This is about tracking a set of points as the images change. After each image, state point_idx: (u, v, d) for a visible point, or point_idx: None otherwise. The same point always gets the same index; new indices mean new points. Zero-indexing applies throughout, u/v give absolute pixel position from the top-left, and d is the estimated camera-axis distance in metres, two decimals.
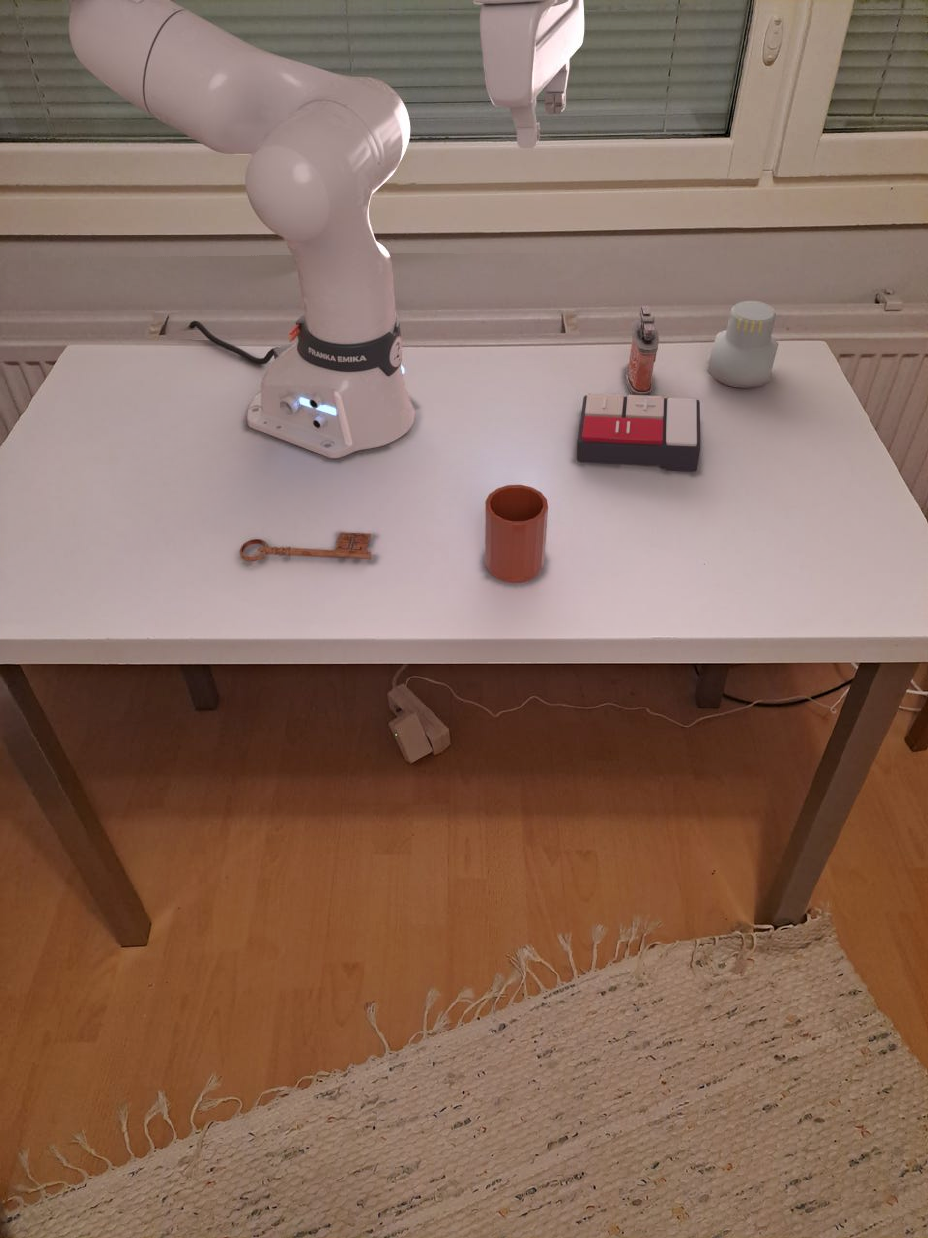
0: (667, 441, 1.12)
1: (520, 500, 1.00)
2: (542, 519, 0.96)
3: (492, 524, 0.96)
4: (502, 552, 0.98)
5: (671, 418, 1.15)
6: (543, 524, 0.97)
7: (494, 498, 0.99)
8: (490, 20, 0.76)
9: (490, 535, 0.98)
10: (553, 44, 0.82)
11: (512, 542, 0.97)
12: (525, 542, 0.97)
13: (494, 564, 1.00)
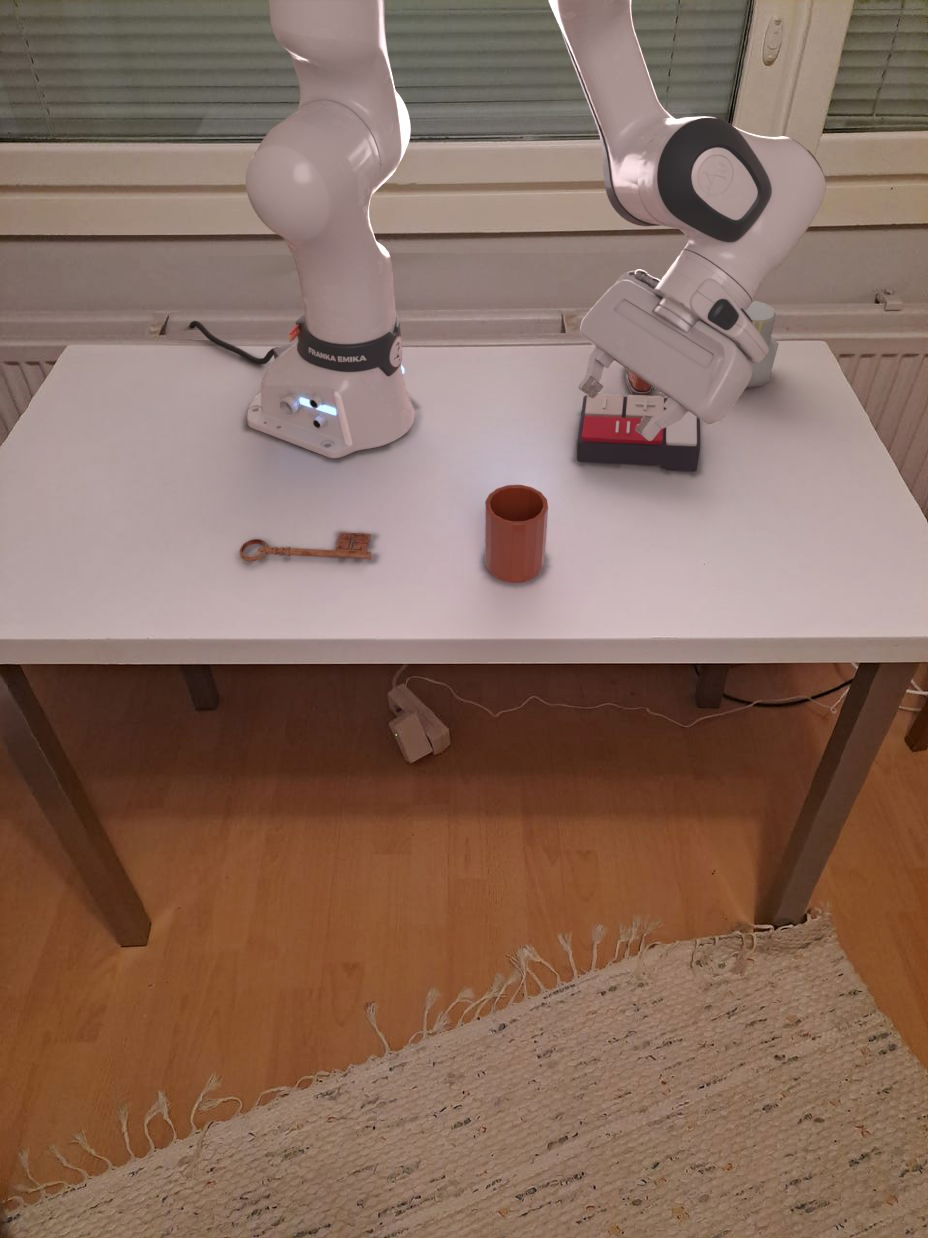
0: (667, 441, 1.12)
1: (520, 500, 1.00)
2: (542, 519, 0.96)
3: (492, 524, 0.96)
4: (502, 552, 0.98)
5: None
6: (543, 524, 0.97)
7: (494, 498, 0.99)
8: (739, 358, 0.87)
9: (490, 535, 0.98)
10: None
11: (512, 542, 0.97)
12: (525, 542, 0.97)
13: (494, 564, 1.00)
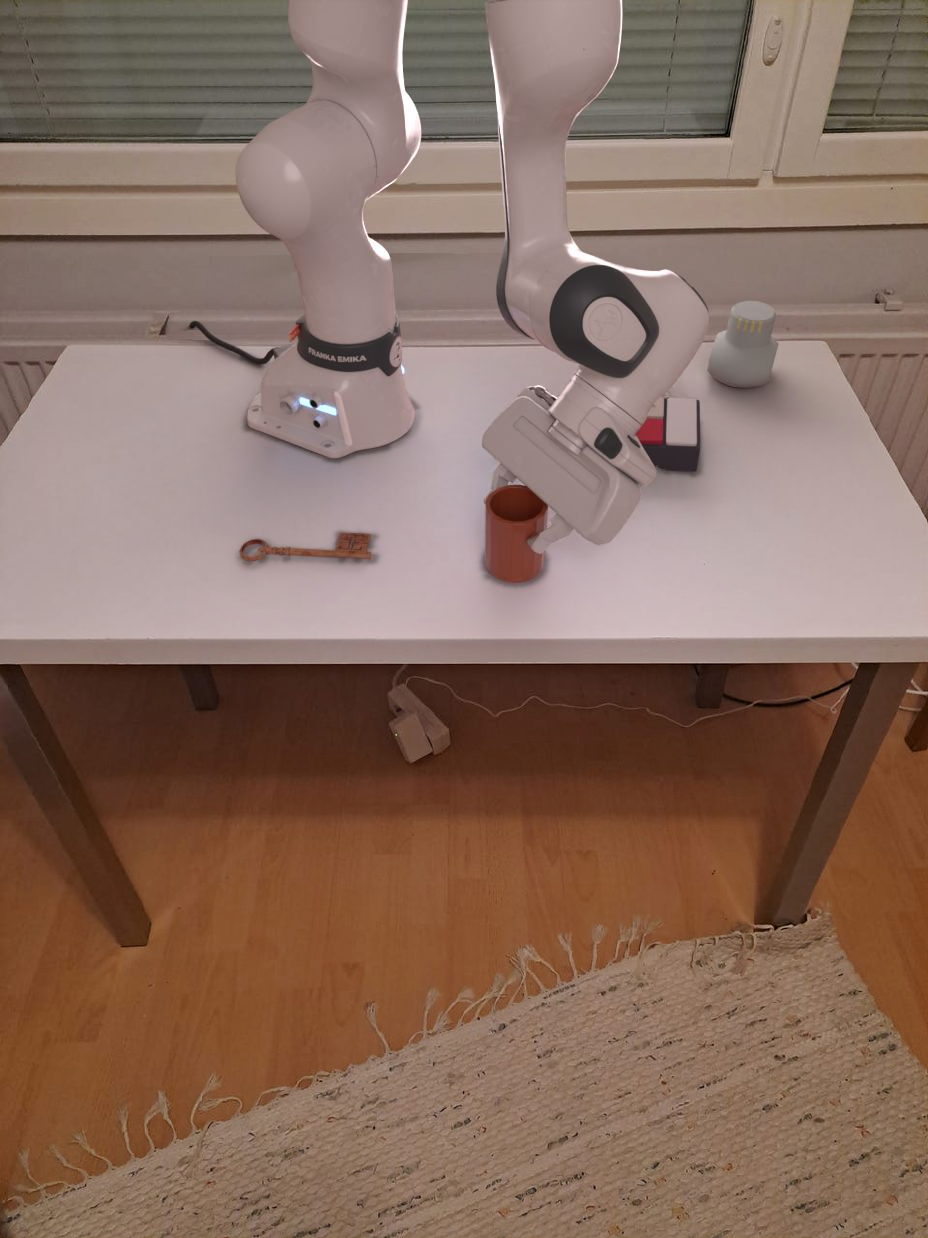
0: (667, 441, 1.12)
1: (520, 500, 1.00)
2: (542, 519, 0.96)
3: (492, 524, 0.96)
4: (502, 552, 0.98)
5: (671, 418, 1.15)
6: (543, 524, 0.97)
7: (494, 498, 0.99)
8: (624, 485, 0.90)
9: (490, 535, 0.98)
10: None
11: (512, 542, 0.97)
12: (525, 542, 0.97)
13: (494, 564, 1.00)
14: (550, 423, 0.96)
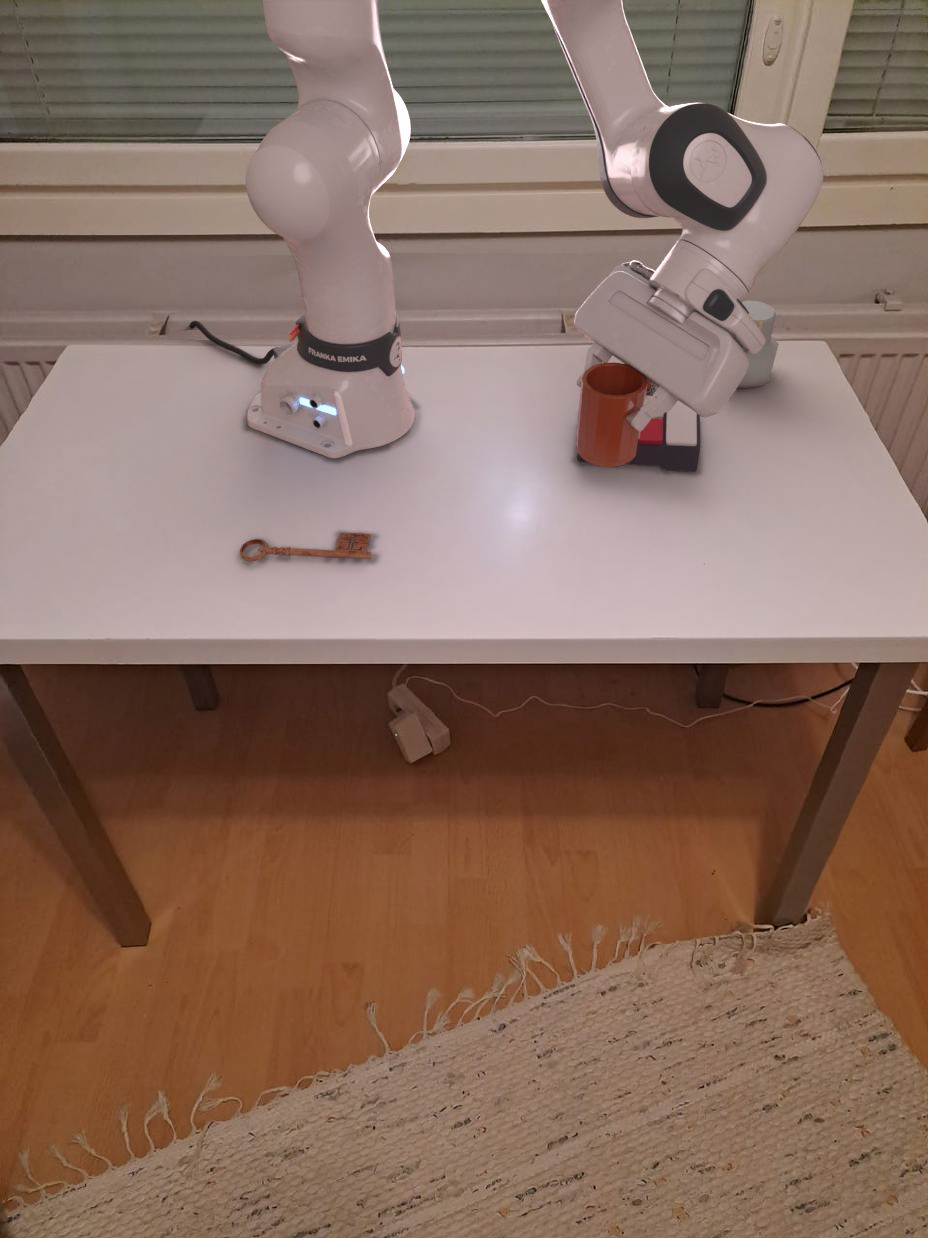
0: (667, 441, 1.12)
1: (615, 380, 0.96)
2: (642, 394, 0.92)
3: (590, 400, 0.92)
4: (598, 431, 0.94)
5: (671, 418, 1.15)
6: (642, 400, 0.93)
7: (590, 376, 0.95)
8: (735, 349, 0.86)
9: (586, 413, 0.94)
10: None
11: (610, 419, 0.93)
12: (624, 419, 0.93)
13: (588, 446, 0.96)
14: (650, 294, 0.92)
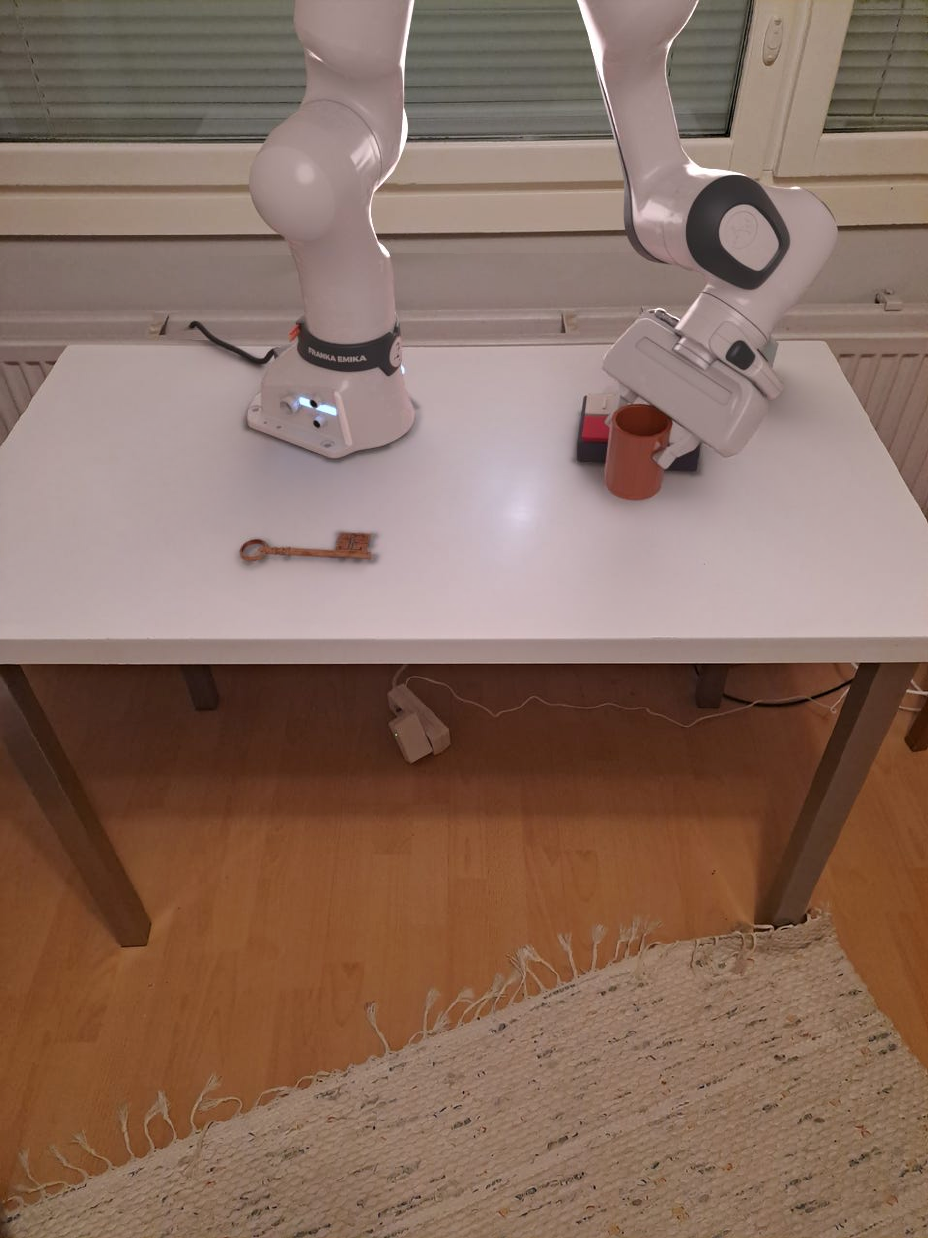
0: None
1: (641, 419, 1.03)
2: (668, 434, 0.99)
3: (619, 440, 0.99)
4: (626, 468, 1.01)
5: None
6: (668, 440, 1.00)
7: (618, 417, 1.01)
8: (755, 396, 0.93)
9: (615, 452, 1.01)
10: None
11: (638, 457, 0.99)
12: (651, 458, 0.99)
13: (616, 482, 1.03)
14: (675, 342, 0.99)
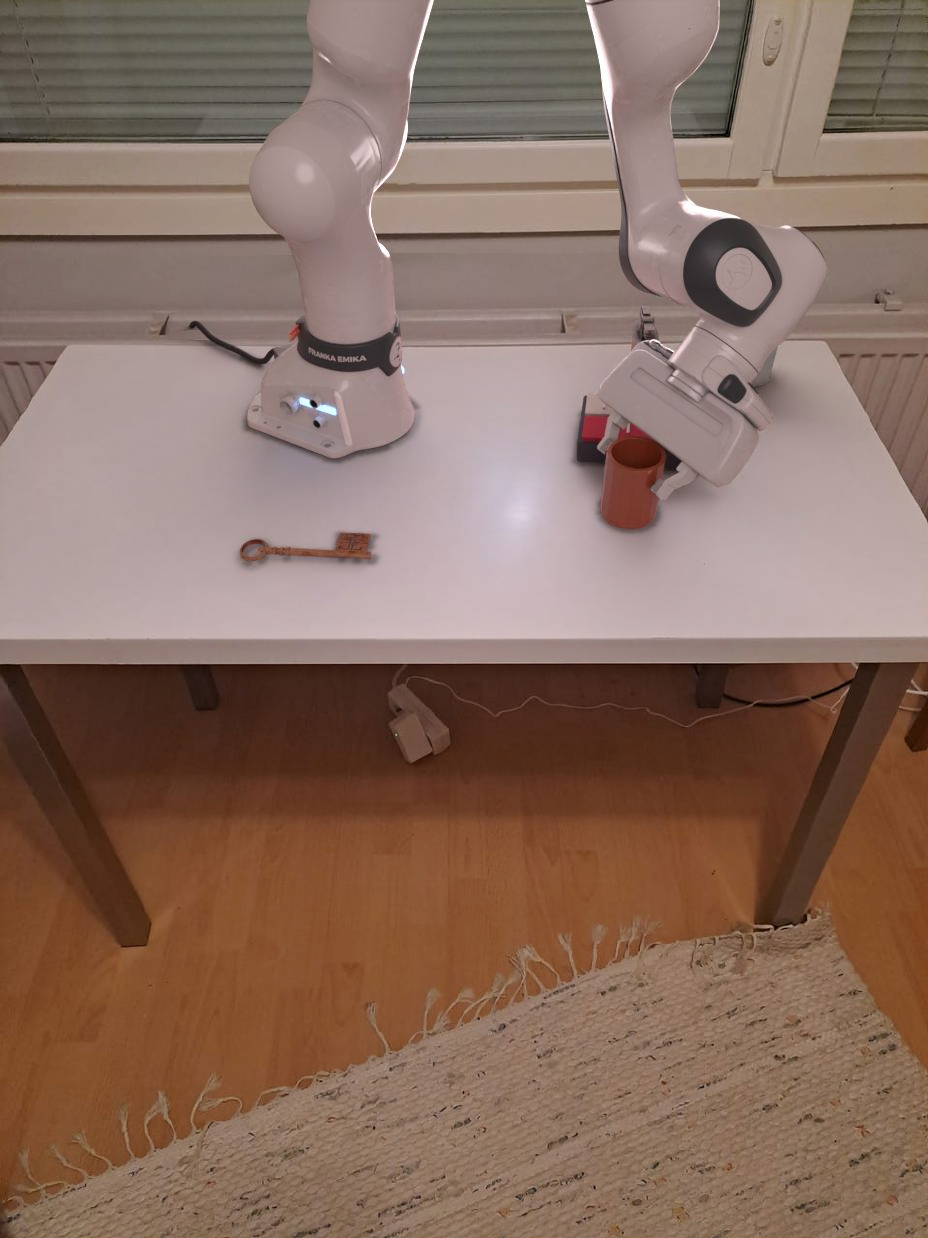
0: None
1: (636, 451, 1.06)
2: (662, 467, 1.02)
3: (614, 472, 1.02)
4: (622, 499, 1.04)
5: None
6: (662, 472, 1.03)
7: (614, 449, 1.04)
8: (746, 428, 0.95)
9: (611, 483, 1.04)
10: None
11: (633, 489, 1.02)
12: (645, 489, 1.03)
13: (612, 511, 1.06)
14: (669, 373, 1.02)
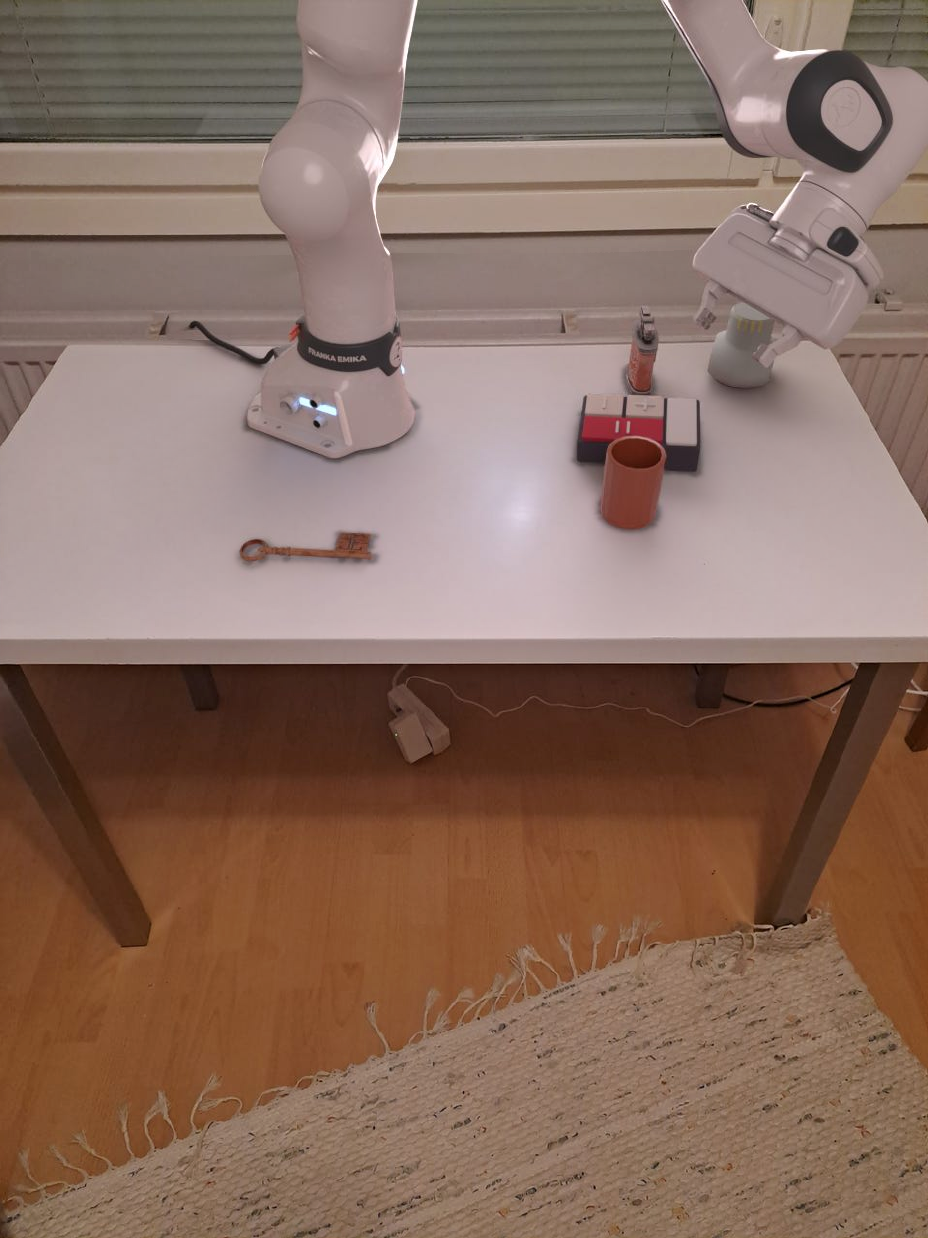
0: (667, 441, 1.12)
1: (636, 451, 1.06)
2: (662, 467, 1.02)
3: (614, 472, 1.02)
4: (622, 499, 1.04)
5: (671, 418, 1.15)
6: (662, 472, 1.03)
7: (614, 449, 1.04)
8: (858, 283, 0.92)
9: (611, 483, 1.04)
10: None
11: (633, 489, 1.02)
12: (645, 489, 1.03)
13: (612, 511, 1.06)
14: (771, 234, 0.98)
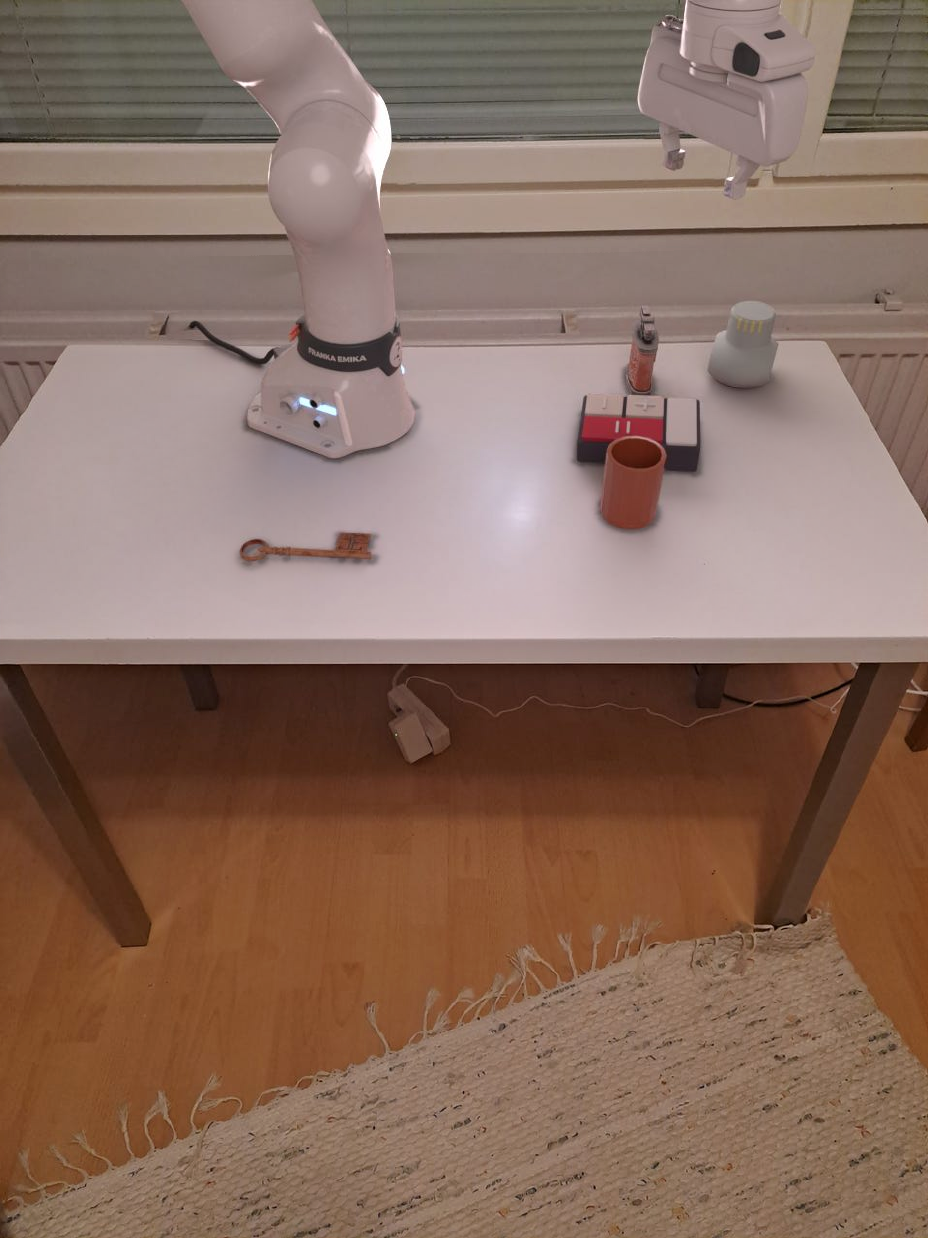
0: (667, 441, 1.12)
1: (636, 451, 1.06)
2: (662, 467, 1.02)
3: (614, 472, 1.02)
4: (622, 499, 1.04)
5: (671, 418, 1.15)
6: (662, 472, 1.03)
7: (614, 449, 1.04)
8: (780, 93, 0.85)
9: (611, 483, 1.04)
10: None
11: (633, 489, 1.02)
12: (645, 489, 1.03)
13: (612, 511, 1.06)
14: None
